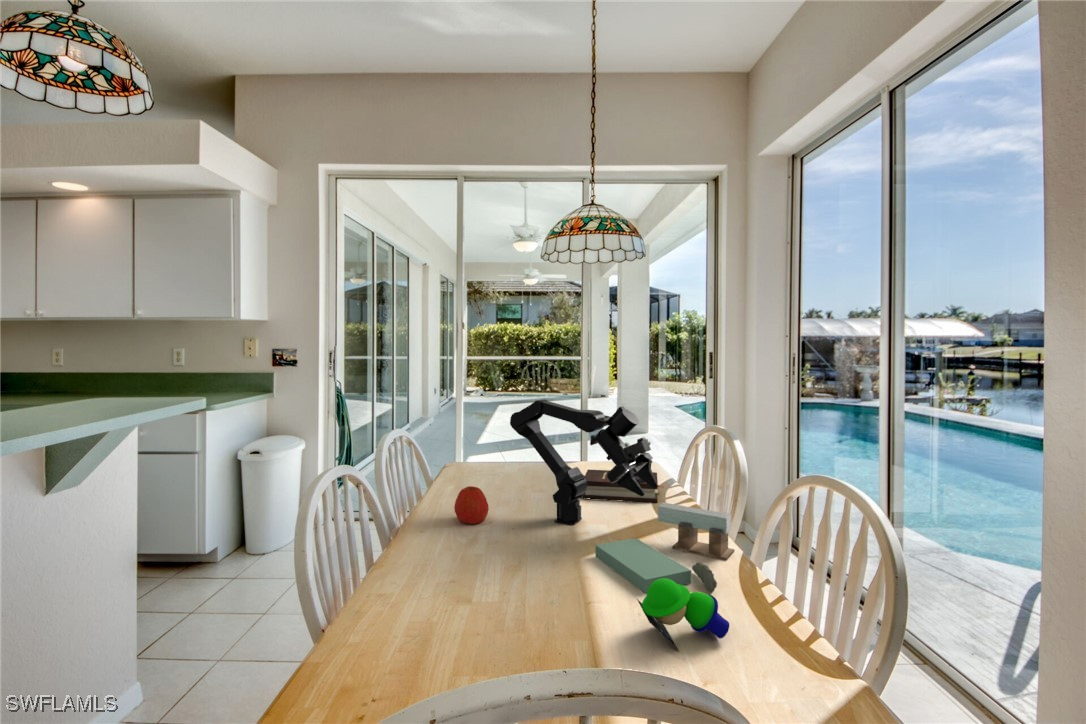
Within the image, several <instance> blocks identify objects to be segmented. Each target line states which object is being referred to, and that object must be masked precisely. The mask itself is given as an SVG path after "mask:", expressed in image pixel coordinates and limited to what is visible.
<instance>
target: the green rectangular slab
mask: <svg viewBox="0 0 1086 724" xmlns="http://www.w3.org/2000/svg"><path fill="white" fill-rule="evenodd" d="M595 558H597V559H598V560H599V561H601V562H603V564H605V565H607V566H608V567H609V568H610V569H612V570H613V571H614V572H616V573H618V574H619V575H620V576H621V577H623V578H624V579H625V580H626V581H627V582H630V583H631V584H632V585H634V586H635V587H636V588H638V589H639V590H640V591H641V592H643V593H645V594H647V591H648V588H649V586H650V585H651V584H652V583H653V582H654V581H655V580H658V579H661V578H666V579H670V580H672V581H674V582H675V583H676V584H680V585H683V586H686V585H690V584H691V583H692V570H691V569H689V568H688V567H686V566H684V565H683V564H681V563H680V562H677V561H676V560H675V559H672V558H671V557H669V556H668V555H665V554H664V553H662V552H661V551H659V550H657V549H655V548H654V547H652V546H650V545H648V544H647V543H645V542H644V541H642V540H640V539H638V538H637V537H634V538H629V539H628V538H627V539H623V540H617V541H611V542H609V541H608V542H605V543H599V544H595Z"/></svg>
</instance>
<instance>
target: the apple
mask: <svg viewBox="0 0 1086 724" xmlns="http://www.w3.org/2000/svg"><path fill="white" fill-rule="evenodd" d="M453 507H454V509H453V510H454V513H455V516H456V518H457V520H459V522H460V523H462V524H467V523H468V524H469V525H477V523H478V524H482V523H483V522H485V520H486V518H487V516H488V515H489V503H488V501H487V497H486V496H485V494H484V492H483V490H482V489H481V488H479V487H477V486H474V485H473V486H470V485H469V486H466V487H464V488H461V490H460V491H459V492H458V495H457V496H456V499H455V501H454V506H453Z"/></svg>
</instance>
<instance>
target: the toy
mask: <svg viewBox="0 0 1086 724" xmlns="http://www.w3.org/2000/svg"><path fill="white" fill-rule="evenodd" d="M636 601H638V604H639V605H640V608H641V609H642V612H643V613H644V616H645V617H646V619H647V620H648V623H649V625H651V626H652V627H653V628H655V629H656V630H657V632H659V633H660V634H661V636H663V637H664V638H665V639H666V640H667V641H668V642H669V643H670V644H671V645H672V646H673V647H674V648H675V649H676V650H677V651H678V652H680V649H679V647H678V646H677V645H676V643H675V642H674V640H673V638H672V636H671V634H670V632H669V631H668V629H667V627H666V626H672V625H676V624H678V623H680V622H681V621H682V620H683V619H684V618H685V620H686V621H687V623H688V624H689V625H690V627H691V628H692V630H694V631H695V633H703V632H705V631H708V632H709V633H711V634H712V635H713V636H715V637H716V638H718V639H723V638H725V636H727V634H728V633H729V630H730V622H729V621H728V620H727V619H726V618H725V617H723V616H722V615H721V614H720V613H719V612H718V611H719V603H718V600H717V598H716V597H715V596H713V595H712V594H707V593H704V592H702V591H692V592H690V590H689V588H688V587H687V586H686V585H680V584H676V583H675V582H674V581H672V580H670V579H666V578H661V579H658V580H655V581H654V582H653V583H652V584H651V585H650V586H649V588H648V591H647V593H646V596H645V597H644V598H643V600H642V601H640V600H639V599H638V598H636ZM665 625H666V626H665Z"/></svg>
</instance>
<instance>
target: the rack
mask: <svg viewBox="0 0 1086 724" xmlns="http://www.w3.org/2000/svg"><path fill="white" fill-rule="evenodd" d="M677 528H678V529H677V530H678V531H677V532H678V533H677V537H678V538H677V542H675V543H674V544H673V545H672V546H671V548H672V549H673V550H678V551H681V550H682V552H686V551H687V553H690V552H691V553H690V554H696V555H700V556H705V557H710V558H714V559H718V560H723V561H726V560H727V561H728V560H729V558H730V557H731V556H732V555H733V554H734V553H735V548H731V547H729V532H728V533H727V534H722V531H720V530H715V529H709V531H708V543H706V542H702V541H698V539H699V538H698V536H699V535H698V533H699V531H698V530H699V529H697V528H692V527H691V525H689V524H684V523H678V525H677Z"/></svg>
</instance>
